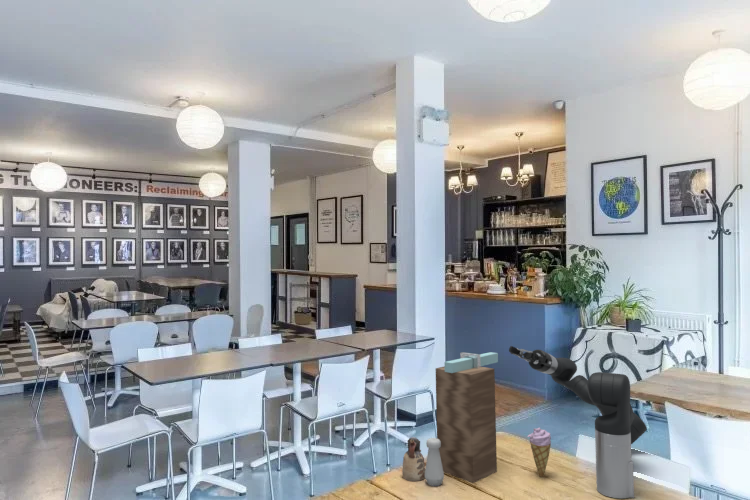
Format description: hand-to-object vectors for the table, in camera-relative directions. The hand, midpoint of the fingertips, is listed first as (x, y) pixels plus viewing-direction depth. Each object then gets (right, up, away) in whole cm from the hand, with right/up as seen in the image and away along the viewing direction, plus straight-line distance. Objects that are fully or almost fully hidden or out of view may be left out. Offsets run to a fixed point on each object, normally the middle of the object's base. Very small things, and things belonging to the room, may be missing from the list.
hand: (520, 351), depth 182 cm
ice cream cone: (-1, -33, -25) cm, 42 cm away
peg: (-20, -1, -17) cm, 26 cm away
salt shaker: (-34, -34, -29) cm, 56 cm away
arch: (-21, -1, -18) cm, 27 cm away
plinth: (-23, -33, -21) cm, 45 cm away
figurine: (-40, -34, -24) cm, 58 cm away
